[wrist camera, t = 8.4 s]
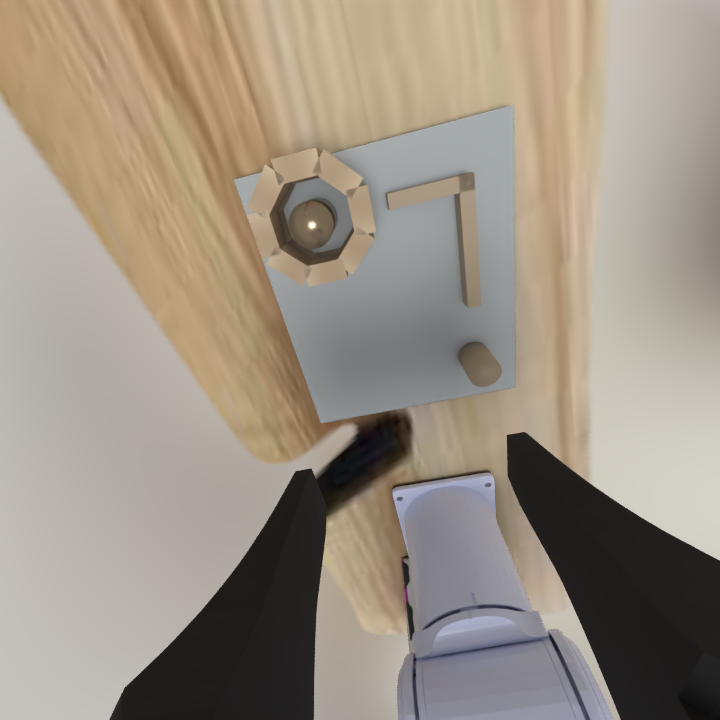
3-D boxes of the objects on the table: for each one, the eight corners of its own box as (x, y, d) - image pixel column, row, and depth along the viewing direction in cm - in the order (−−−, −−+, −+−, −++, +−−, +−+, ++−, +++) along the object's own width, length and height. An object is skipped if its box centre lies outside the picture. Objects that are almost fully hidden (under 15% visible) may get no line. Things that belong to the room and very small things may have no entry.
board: (509, 380, 22) (530, 407, 19) (322, 415, 23) (317, 445, 21) (506, 108, 15) (538, 92, 12) (239, 179, 16) (216, 179, 14)
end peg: (341, 232, 17) (338, 243, 14) (307, 240, 17) (296, 253, 14) (332, 193, 16) (326, 196, 13) (296, 202, 16) (282, 207, 13)
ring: (379, 256, 17) (383, 270, 15) (287, 278, 18) (274, 294, 15) (358, 144, 15) (358, 135, 12) (252, 172, 16) (230, 170, 13)
